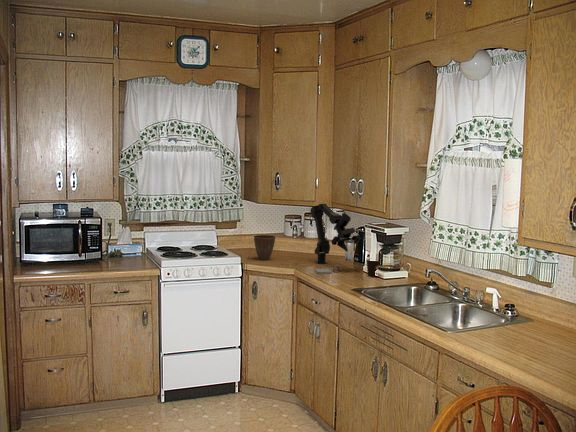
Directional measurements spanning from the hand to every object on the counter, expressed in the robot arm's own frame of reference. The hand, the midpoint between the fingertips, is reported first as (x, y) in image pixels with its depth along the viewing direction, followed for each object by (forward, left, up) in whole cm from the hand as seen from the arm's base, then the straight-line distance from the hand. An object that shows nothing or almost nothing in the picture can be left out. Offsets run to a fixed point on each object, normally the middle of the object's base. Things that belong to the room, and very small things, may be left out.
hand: (350, 250), depth 373 cm
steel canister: (-1, 0, -7) cm, 7 cm away
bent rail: (-2, -8, -13) cm, 16 cm away
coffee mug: (+13, +13, -14) cm, 23 cm away
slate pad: (+1, -17, -13) cm, 22 cm away
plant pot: (-45, -50, -14) cm, 69 cm away
